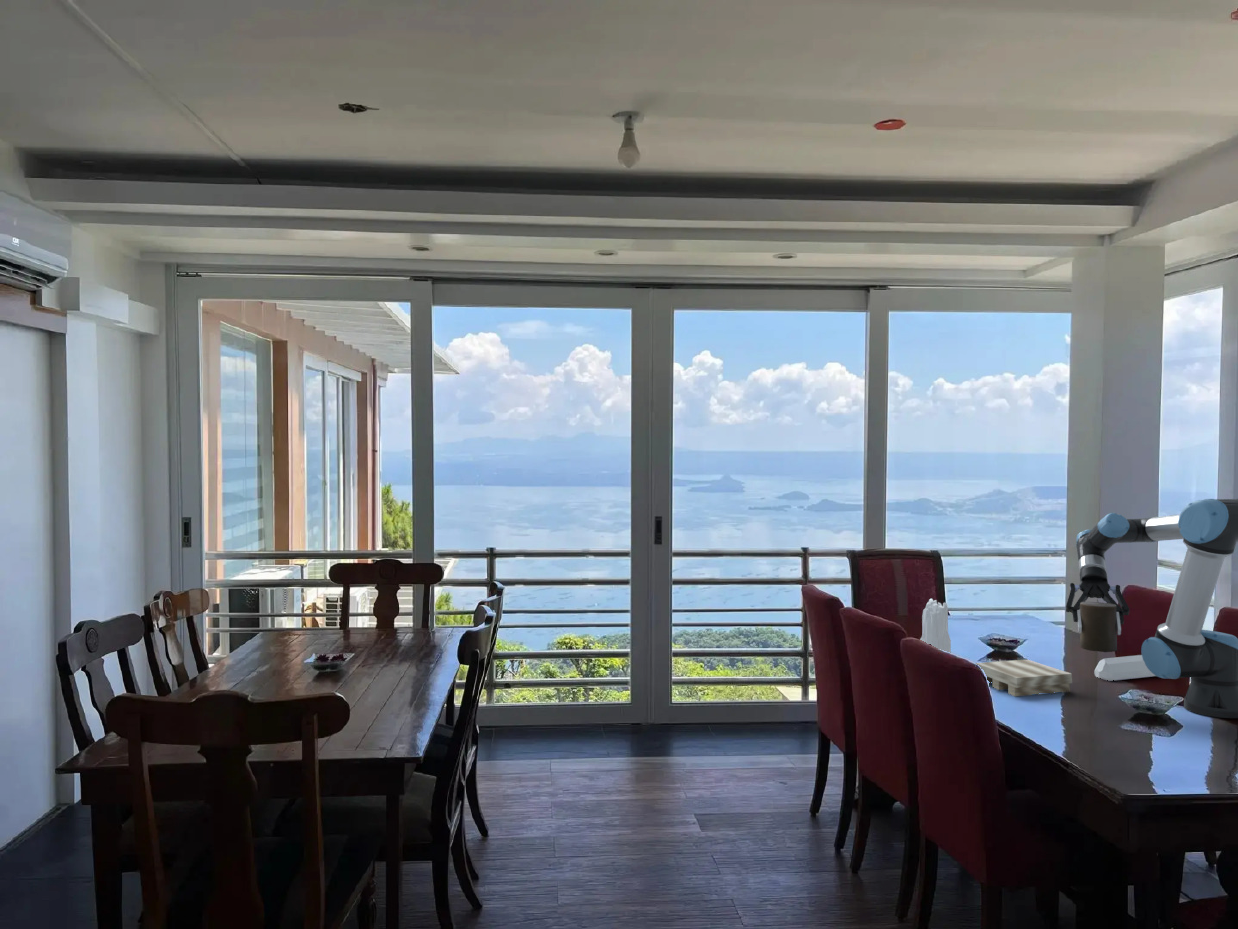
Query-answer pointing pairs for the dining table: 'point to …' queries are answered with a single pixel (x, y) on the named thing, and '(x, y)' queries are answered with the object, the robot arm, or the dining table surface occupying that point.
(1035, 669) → the plate
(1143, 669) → the white octagonal bar
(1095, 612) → the pillar candle
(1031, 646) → the dining table surface
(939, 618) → the decorative vase
